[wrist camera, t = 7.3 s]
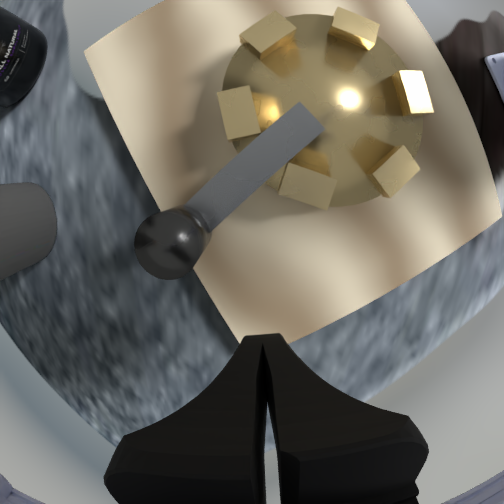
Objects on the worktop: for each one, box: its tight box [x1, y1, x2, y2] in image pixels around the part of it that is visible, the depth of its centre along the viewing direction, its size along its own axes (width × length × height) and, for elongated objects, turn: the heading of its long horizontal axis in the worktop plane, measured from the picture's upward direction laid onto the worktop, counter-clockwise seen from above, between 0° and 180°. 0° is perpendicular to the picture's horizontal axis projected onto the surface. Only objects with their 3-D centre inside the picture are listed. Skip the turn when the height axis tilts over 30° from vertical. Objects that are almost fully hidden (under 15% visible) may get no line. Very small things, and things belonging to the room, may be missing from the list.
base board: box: [84, 0, 502, 344], centre depth 15 cm, size 20×22×2 cm
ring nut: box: [134, 7, 433, 280], centre depth 12 cm, size 10×15×6 cm, turn 133°
